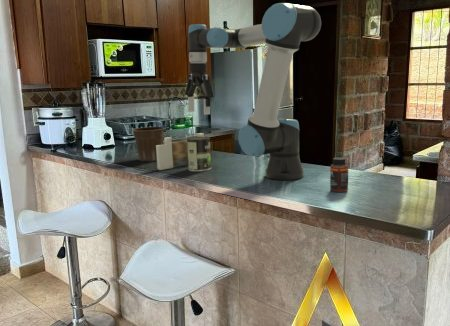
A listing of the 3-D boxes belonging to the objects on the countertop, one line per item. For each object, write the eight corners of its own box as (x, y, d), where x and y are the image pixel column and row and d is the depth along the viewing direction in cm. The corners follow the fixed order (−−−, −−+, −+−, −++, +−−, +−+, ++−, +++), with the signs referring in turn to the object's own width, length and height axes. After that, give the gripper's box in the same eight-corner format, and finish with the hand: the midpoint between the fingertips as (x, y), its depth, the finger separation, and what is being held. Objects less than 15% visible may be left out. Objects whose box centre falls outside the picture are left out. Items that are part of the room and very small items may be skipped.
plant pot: (143, 164, 205) (140, 131, 202) (129, 159, 218) (127, 128, 215) (172, 159, 215) (170, 128, 212) (157, 155, 228) (155, 126, 224)
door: (194, 161, 204) (192, 139, 202) (198, 162, 202) (196, 139, 200) (170, 165, 197) (169, 142, 194) (174, 166, 194) (173, 142, 192)
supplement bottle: (351, 190, 145) (351, 157, 142) (343, 193, 140) (343, 160, 138) (335, 187, 149) (335, 156, 146) (326, 191, 144) (327, 158, 142)
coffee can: (213, 166, 192) (212, 136, 190) (208, 171, 182) (206, 139, 180) (191, 166, 194) (190, 136, 192) (185, 171, 184) (183, 139, 182)
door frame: (210, 161, 206) (208, 132, 203) (160, 170, 190) (158, 139, 187) (207, 160, 208) (206, 132, 205) (157, 169, 191) (155, 138, 189)
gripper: (176, 63, 186) (178, 111, 191) (205, 62, 166) (206, 116, 171) (191, 63, 190) (192, 110, 195) (221, 62, 170) (221, 115, 175)
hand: (198, 113), depth 183 cm, fingers open, 13 cm apart
